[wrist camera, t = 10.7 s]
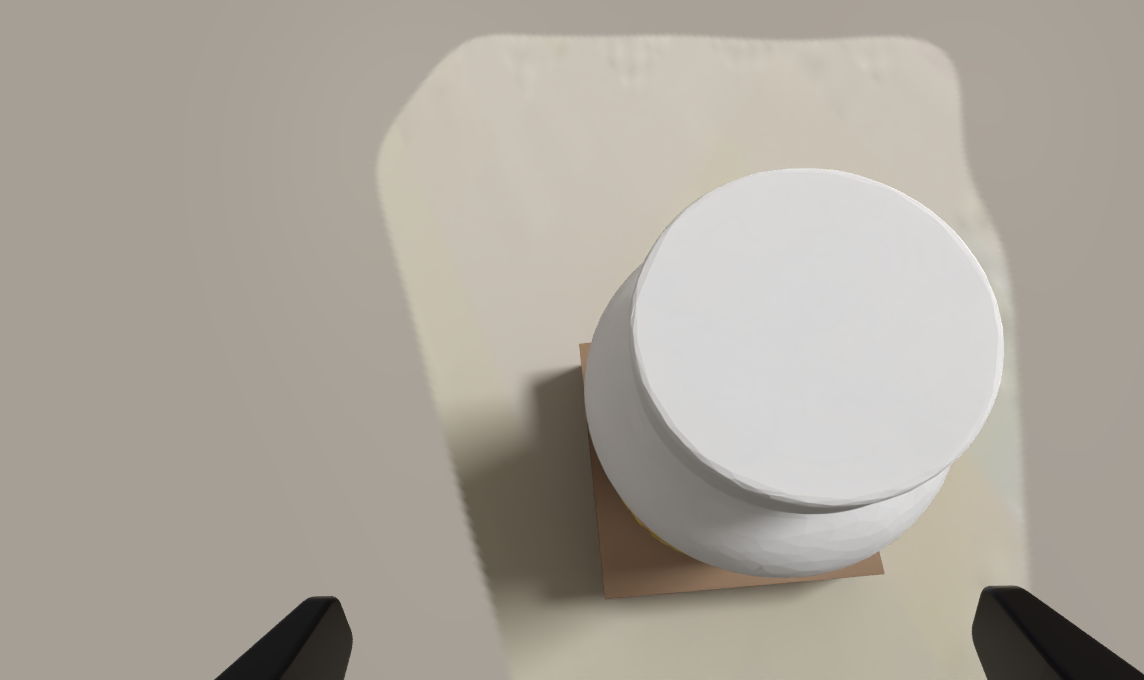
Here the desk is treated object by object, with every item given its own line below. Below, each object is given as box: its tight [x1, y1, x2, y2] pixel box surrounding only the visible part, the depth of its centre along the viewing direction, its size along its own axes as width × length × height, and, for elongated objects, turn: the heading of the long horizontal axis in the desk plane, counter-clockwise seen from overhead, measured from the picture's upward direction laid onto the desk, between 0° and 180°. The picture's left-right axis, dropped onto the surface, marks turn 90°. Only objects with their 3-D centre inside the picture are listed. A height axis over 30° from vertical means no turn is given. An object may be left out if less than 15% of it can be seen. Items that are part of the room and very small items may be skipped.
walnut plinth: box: [579, 343, 884, 599], centre depth 21 cm, size 8×8×2 cm
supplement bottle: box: [584, 168, 1004, 578], centre depth 14 cm, size 7×7×13 cm
